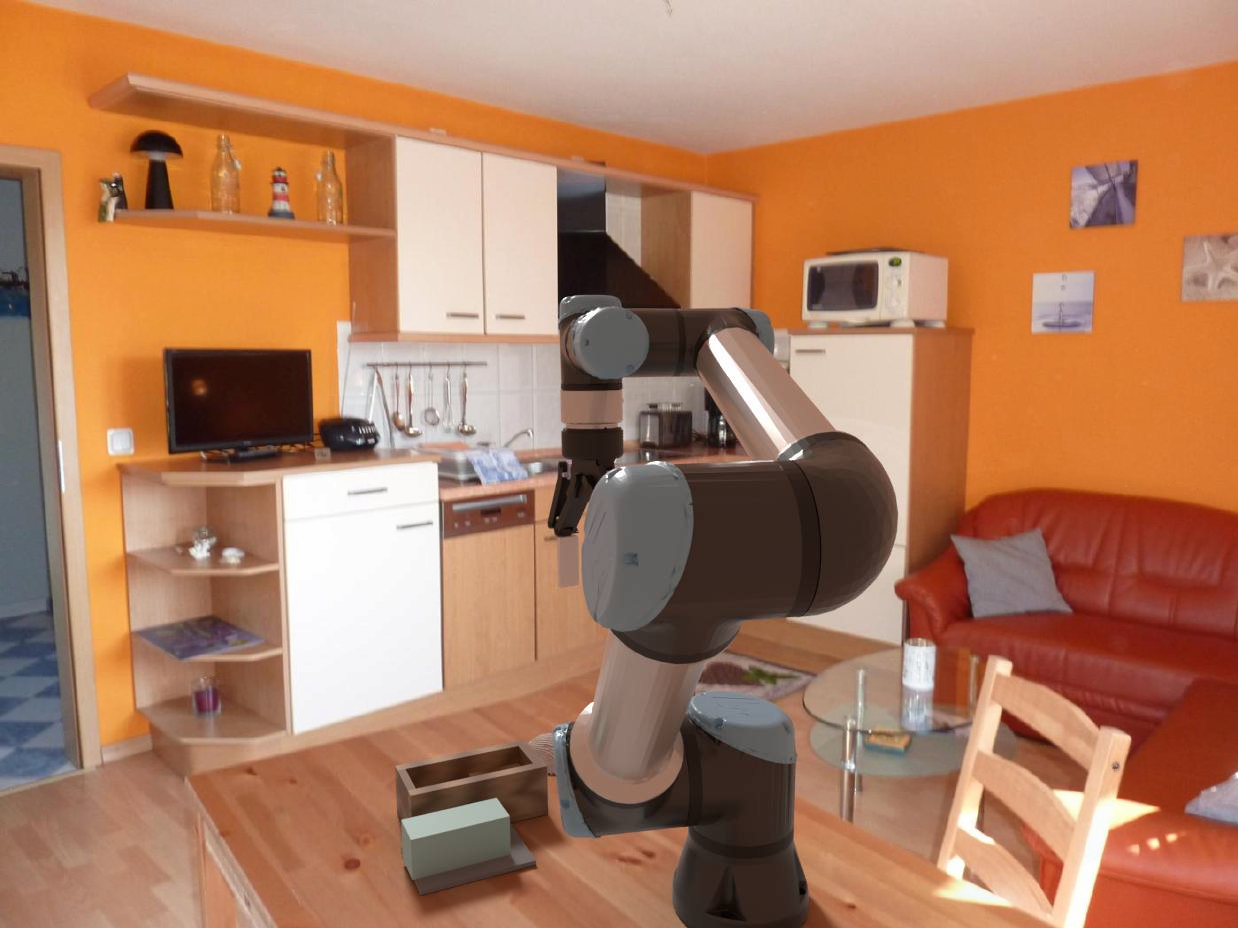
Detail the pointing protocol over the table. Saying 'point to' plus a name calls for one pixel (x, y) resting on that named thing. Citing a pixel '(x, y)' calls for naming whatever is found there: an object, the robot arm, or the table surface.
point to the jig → (475, 782)
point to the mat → (480, 868)
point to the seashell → (544, 750)
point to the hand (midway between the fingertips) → (594, 597)
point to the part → (455, 838)
